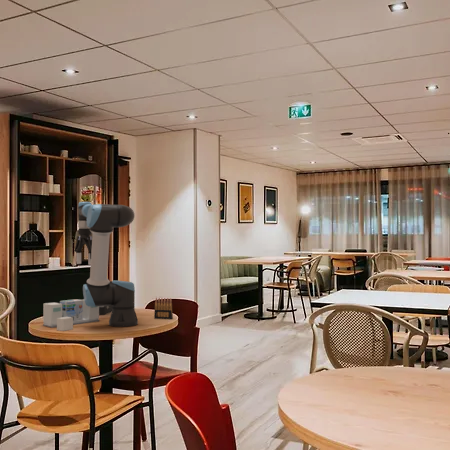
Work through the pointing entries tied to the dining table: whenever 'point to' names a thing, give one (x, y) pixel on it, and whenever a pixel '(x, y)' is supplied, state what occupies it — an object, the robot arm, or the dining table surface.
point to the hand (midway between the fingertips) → (84, 264)
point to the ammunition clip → (163, 309)
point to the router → (105, 308)
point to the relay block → (65, 323)
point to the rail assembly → (55, 311)
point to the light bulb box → (72, 309)
